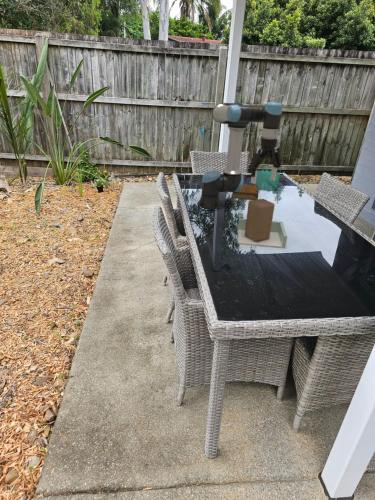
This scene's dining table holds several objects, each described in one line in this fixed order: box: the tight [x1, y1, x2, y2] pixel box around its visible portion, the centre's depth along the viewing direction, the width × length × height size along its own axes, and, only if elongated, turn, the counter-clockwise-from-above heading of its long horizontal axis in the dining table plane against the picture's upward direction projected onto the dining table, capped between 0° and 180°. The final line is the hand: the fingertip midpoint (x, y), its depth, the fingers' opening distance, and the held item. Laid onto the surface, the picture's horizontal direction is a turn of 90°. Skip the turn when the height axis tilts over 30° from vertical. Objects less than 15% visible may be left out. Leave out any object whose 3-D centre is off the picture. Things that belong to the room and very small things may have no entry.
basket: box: [255, 169, 281, 192], centre depth 265 cm, size 19×18×13 cm
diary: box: [231, 183, 259, 201], centre depth 247 cm, size 23×19×6 cm
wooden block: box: [245, 198, 275, 241], centre depth 171 cm, size 10×10×20 cm
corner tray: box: [237, 218, 288, 249], centre depth 175 cm, size 24×20×7 cm
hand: (263, 181), depth 165 cm, fingers open, 13 cm apart
